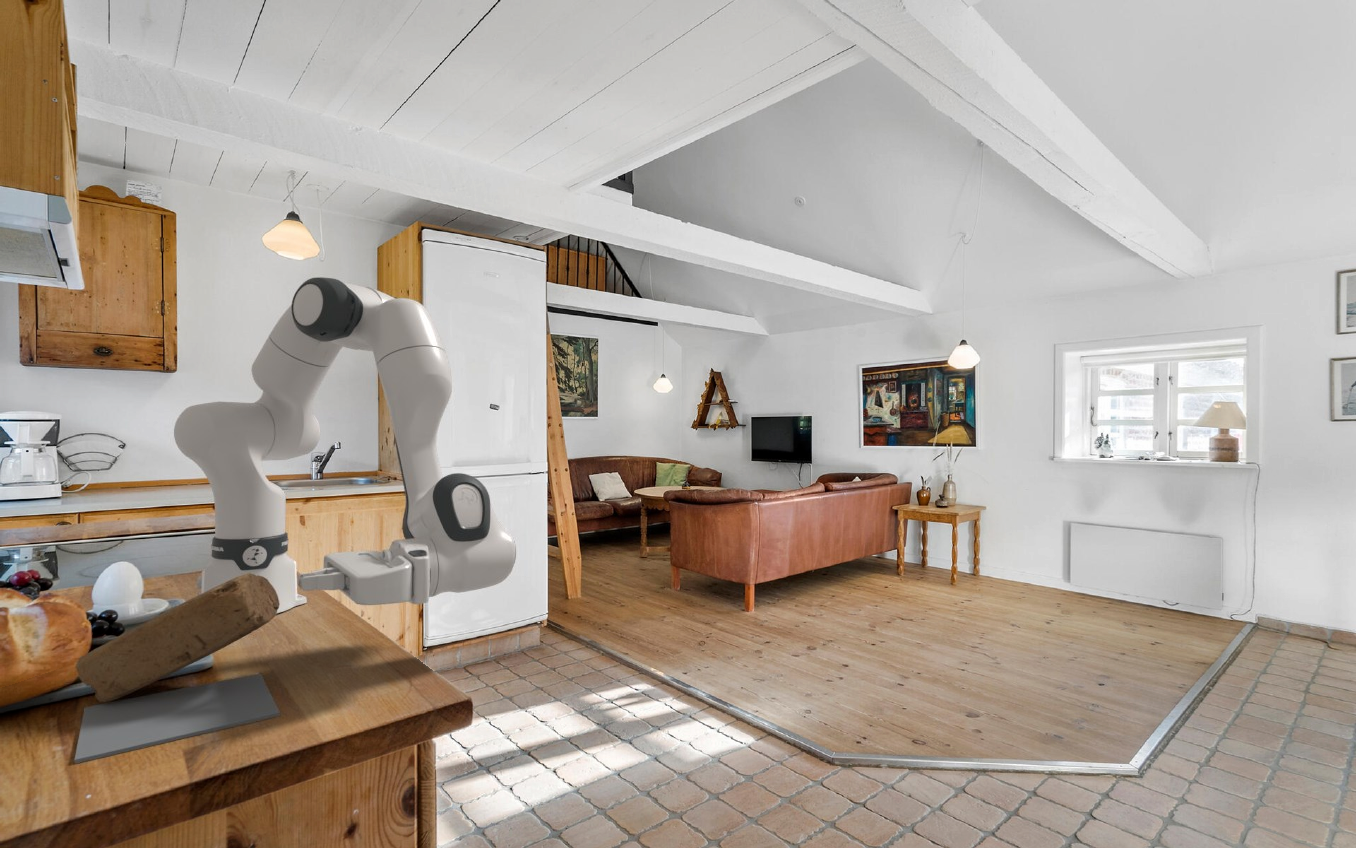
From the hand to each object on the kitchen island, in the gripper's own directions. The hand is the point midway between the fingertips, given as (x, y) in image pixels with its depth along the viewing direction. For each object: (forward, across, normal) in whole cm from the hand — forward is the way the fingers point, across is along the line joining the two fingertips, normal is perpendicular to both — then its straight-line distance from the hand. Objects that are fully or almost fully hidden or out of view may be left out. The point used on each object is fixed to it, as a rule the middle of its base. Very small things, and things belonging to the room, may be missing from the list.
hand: (299, 582), depth 86 cm
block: (+3, -5, +2) cm, 6 cm away
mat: (+12, 0, +14) cm, 19 cm away
